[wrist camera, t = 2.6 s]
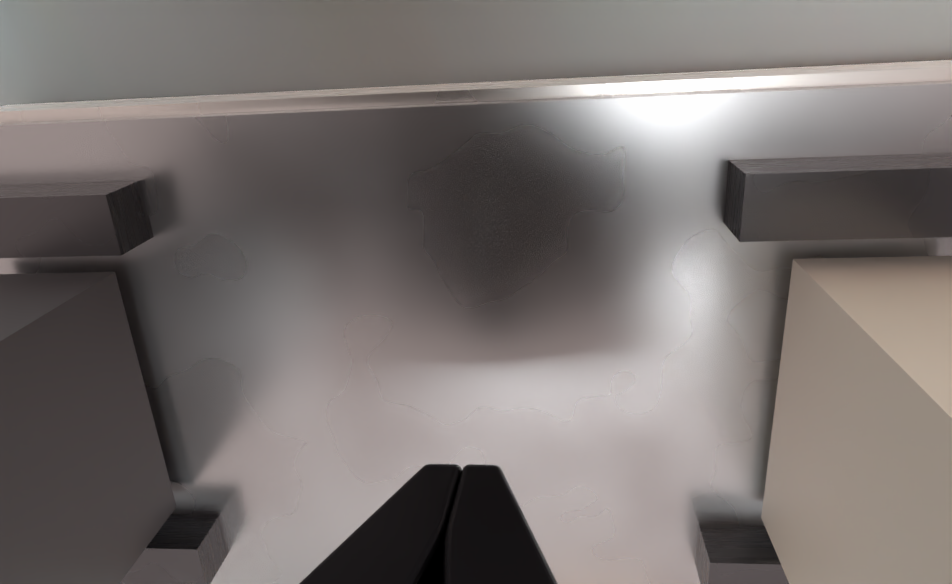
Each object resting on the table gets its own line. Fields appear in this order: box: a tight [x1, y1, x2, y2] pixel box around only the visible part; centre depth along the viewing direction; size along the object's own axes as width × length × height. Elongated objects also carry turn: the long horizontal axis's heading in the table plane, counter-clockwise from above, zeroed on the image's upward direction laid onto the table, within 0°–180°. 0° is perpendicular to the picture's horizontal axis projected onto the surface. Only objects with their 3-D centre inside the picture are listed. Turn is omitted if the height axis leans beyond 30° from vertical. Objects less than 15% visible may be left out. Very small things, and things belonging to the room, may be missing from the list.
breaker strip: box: [0, 60, 952, 584], centre depth 10 cm, size 18×8×3 cm, turn 94°
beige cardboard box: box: [761, 256, 952, 584], centre depth 7 cm, size 2×4×4 cm, turn 4°
